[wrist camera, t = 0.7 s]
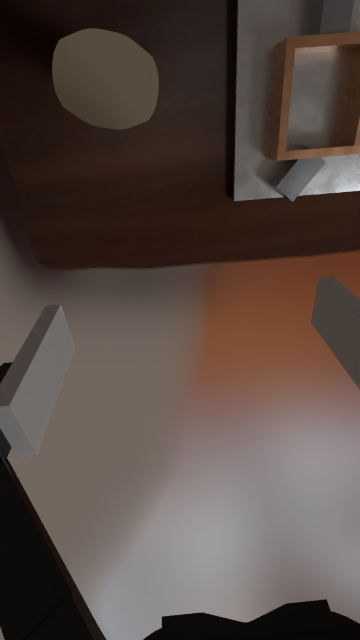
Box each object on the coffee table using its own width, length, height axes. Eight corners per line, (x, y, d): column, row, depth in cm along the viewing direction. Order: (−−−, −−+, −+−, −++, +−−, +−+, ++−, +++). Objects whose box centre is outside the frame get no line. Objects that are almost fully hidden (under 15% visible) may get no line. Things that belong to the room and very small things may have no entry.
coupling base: (236, -11, 29) (246, -30, 25) (411, -24, 29) (445, -44, 25) (232, 200, 38) (239, 207, 35) (364, 188, 38) (384, 195, 35)
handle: (94, 64, 31) (49, 19, 18) (160, 76, 31) (162, 41, 19) (94, 122, 33) (54, 119, 20) (156, 132, 34) (154, 135, 21)
